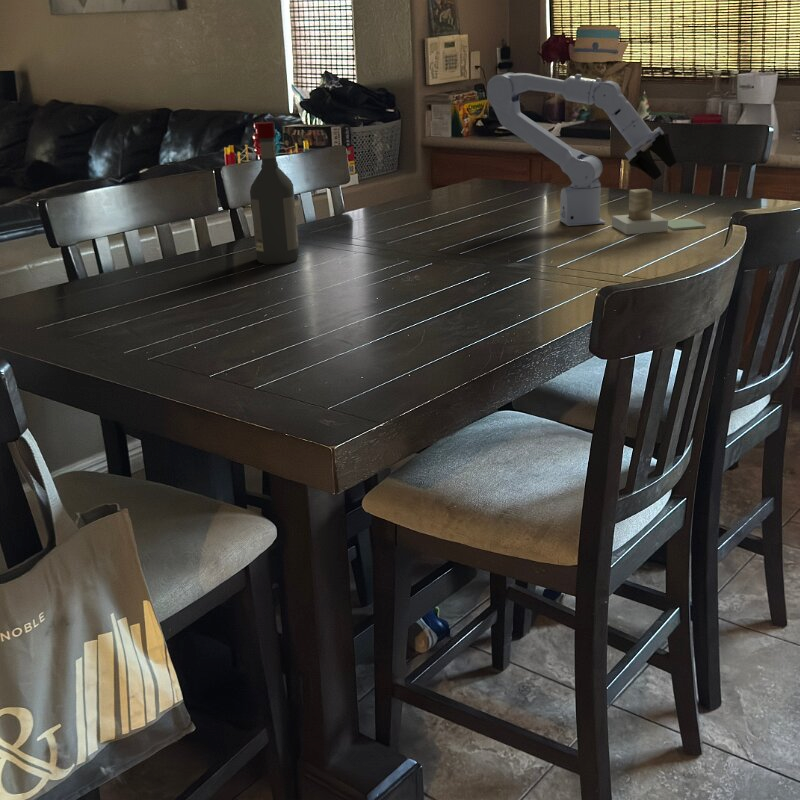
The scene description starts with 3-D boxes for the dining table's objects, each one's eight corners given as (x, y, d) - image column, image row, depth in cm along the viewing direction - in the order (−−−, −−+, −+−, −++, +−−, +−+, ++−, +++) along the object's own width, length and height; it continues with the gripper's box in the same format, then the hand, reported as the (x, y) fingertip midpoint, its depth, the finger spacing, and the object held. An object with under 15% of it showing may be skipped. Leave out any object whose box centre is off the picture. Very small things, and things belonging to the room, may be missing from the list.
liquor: (299, 253, 228) (288, 119, 217) (297, 262, 220) (285, 123, 209) (260, 256, 228) (246, 121, 217) (256, 265, 220) (241, 126, 209)
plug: (634, 231, 233) (635, 192, 230) (628, 227, 237) (629, 189, 233) (650, 229, 233) (652, 191, 230) (644, 226, 237) (645, 188, 234)
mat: (672, 230, 232) (673, 228, 231) (658, 223, 240) (658, 220, 240) (705, 227, 232) (705, 225, 232) (690, 220, 241) (690, 218, 241)
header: (626, 234, 230) (626, 223, 229) (611, 226, 239) (612, 215, 238) (667, 231, 231) (668, 220, 230) (651, 223, 240) (652, 212, 239)
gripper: (627, 127, 225) (663, 174, 226) (656, 104, 234) (691, 150, 234) (606, 143, 231) (642, 189, 232) (636, 121, 239) (670, 166, 240)
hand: (665, 171), depth 233 cm, fingers open, 7 cm apart
